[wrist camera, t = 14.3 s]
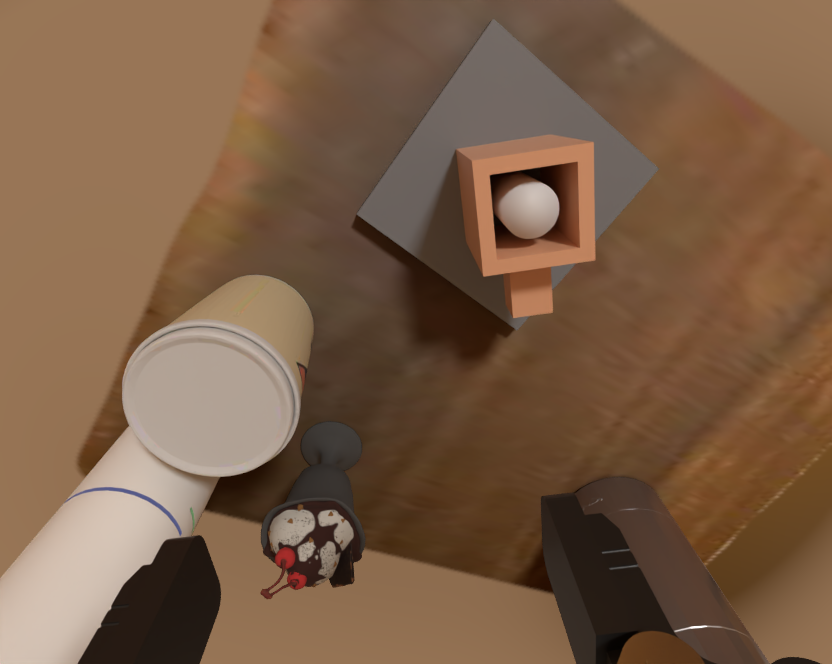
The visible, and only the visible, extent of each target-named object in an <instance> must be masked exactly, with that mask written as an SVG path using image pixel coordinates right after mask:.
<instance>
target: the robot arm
mask: <svg viewBox="0 0 832 664" xmlns="http://www.w3.org/2000/svg"><path fill="white" fill-rule="evenodd" d="M541 517H542V542H543V554H544V560H545V565H546V569H547V573H548V576H549V579H550V583H551V586H552V589H553V592H554V595H555V598H556V601H557V604H558V608H559V611H560V613H561V617H562V620H563V623H564V626H565V629H566V633H567V636H568V639H569V642H570V645H571V648H572V651H573V654H574V657H575V660H576V664H770V663H769V662H768V660H767V658H766V657H765V655H764V654H763V653H762V651H761V650H760V648H759V646H758V645H757V644H756V642H755V641H754V639H753V638H752V636H751V635H750V633H749V632H748V631H747V629H746V627H745V626H744V624H743V623H742V621H741V620H740V618H739V617H738V615H737V614H736V612H735V611H734V609H733V608H732V606H731V605H730V604H729V602H728V600H727V599H726V597H725V596H724V595H723V593H722V591H721V590H720V588H719V587H718V585H717V584H716V582H715V581H714V579H713V578H712V576H711V575H710V573H709V572H708V570H707V569H706V567H705V566H704V564H703V562H702V561H701V559H700V558H699V556H698V555H697V553H696V552H695V550H694V549H693V547H692V546H691V544H690V543H689V541H688V540H687V538H686V537H685V535H684V534H683V532H682V531H681V529H680V527H679V526H678V524H677V523H676V521H675V520H674V518H673V517H672V515H671V514H670V512H669V511H668V509H667V508H666V506H665V505H664V503H663V502H662V500H661V499H660V497H659V496H658V495H657V493H656V492H655V491H654V490H653V489H652V488H651V487H649V486H648V485H647V484H645V483H643V482H641V481H638V480H636V479H631V478H625V477H612V478H607V479H601V480H599V481H596V482H593V483H590V484H588V485H587V486H585V487H583V488H581V489H580V490H578V491H577V492H576V493H575V494H574V493H564V494H556V495H547V496H542V497H541ZM220 600H221V589H220V583H219V580H218V577H217V574H216V571H215V568H214V565H213V563H212V560H211V557H210V554H209V552H208V549H207V546H206V543H205V541H204V539H203V537H202V536H200V535H198V536H189V537H180V538H172V539H167V540H165V541H164V542H163V544H162V545H161V547H160V549H159V551H158V553H157V554H156V556H155V558H154V560H153V562H152V564H149V565H143V566H142V567H141V568H140V569H139V570H138V571H137V572H136V573H135V574H134V575H133V576H132V577H131V578H130V579H129V580H128V581H127V582H126V583H125V584H124V585H123V586H122V588H121V590H120V591H119V593H118V595H117V596H116V598H115V600H114V602H113V603H112V605H111V610H108V612H107V614H106V615H105V617H104V619H103V621H102V622H101V627H100V628H98V629H97V631H96V633H95V634H94V636H93V638H92V640H91V641H90V643H89V645H88V646H87V648H86V650H85V652H84V653H83V655H82V657H81V658H80V660H79V662H78V664H199V663H200V661H201V658H202V655H203V652H204V650H205V647H206V644H207V642H208V639H209V636H210V633H211V630H212V628H213V625H214V622H215V619H216V617H217V614H218V611H219V606H220ZM772 664H820V663H818V662H815V661H812V660H809V659H805V658H799V657H787V658H782V659H779V660H777V661H775V662H773V663H772Z"/></svg>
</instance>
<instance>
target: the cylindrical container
mask: <svg viewBox="0 0 832 664" xmlns="http://www.w3.org/2000/svg"><path fill="white" fill-rule="evenodd" d="M219 478H220V477H210V476H202V475H196V474H192V473H189V472H186V471H183V470H180V469H177V468H175V467H173V466H171V465H169V464H167V463H165V462H164V461H162V460H161V459H159V458H158V457H156V456H155V455H154V454H153V453H151V452H150V451H149V450H148V449H147V448H146V447H145V446H144V445H143V444H142V443H141V442H140V441H139V439H138V438H137V437H136V435H135V434H134V432H133V431H132V429H131V427H130V426H129V427H128V428H127V429H126V430H125V431H124V433H123V434H122V435H121V436H120V437H119V439H118V440H117V441H116V442H115V443H114V444H113V446H112V447H111V448H110V449H109V450H108V452H107V453H106V454H105V455H104V456H103V457H102V459H101V460H100V461H99V462H98V463H97V465H96V466H95V467H94V468H93V469H92V470H91V472H90V473H89V474H88V475H87V476H86V478H85V479H84V480H83V481H82V482H81V484H80V485H79V486H78V487H77V488H76V489H75V491H74V492H73V493H72V494H71V495H70V496H69V498H68V499H67V500H66V501H65V502H64V504H63V505H62V506H61V507H60V508H59V510H58V511H57V512H56V513H55V514H54V515H53V517H52V518H51V519H50V520H49V521H48V522H47V524H46V525H45V526H44V527H43V528H42V529H41V531H40V532H39V533H38V534H37V535H36V537H35V538H34V539H33V540H32V541H31V542H30V544H29V545H28V546H27V547H26V548H25V550H24V551H23V552H22V553H21V554H20V555H19V557H18V558H17V559H16V560H15V561H14V563H13V564H12V565H11V566H10V567H9V569H8V570H7V571H6V572H5V573H4V575H3V576H2V577H1V578H0V664H78V662H79V660H80V658H81V657H82V655H83V653H84V652H85V650H86V648H87V646H88V645H89V643H90V641H91V640H92V638H93V636H94V634H95V633H96V631H97V629H98V628H100V627H101V622H102V621H103V619H104V617H105V615H106V614H107V612H108V610H111V605H112V603H113V602H114V600H115V598H116V596H117V595H118V593H119V591H120V590H121V588H122V586H123V585H124V584H125V583H126V582H127V581H128V580H129V579H130V578H131V577H132V576H133V575H134V574H135V573H136V572H137V571H138V570H139V569H140V568H141V567H142V566H143V565H149V564H152V562H153V560H154V558H155V556H156V554H157V553H158V551H159V549H160V547H161V545H162V544H163V542H164V541H165V540H167V539H172V538H180V537H189V536H192V533H193V532H194V529H195V527H196V525H197V523H198V521H199V519H200V517H201V515H202V513H203V511H204V509H205V507H206V505H207V503H208V501H209V499H210V496H211V494H212V492H213V490H214V488H215V486H216V484H217V482H218V480H219Z"/></svg>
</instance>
